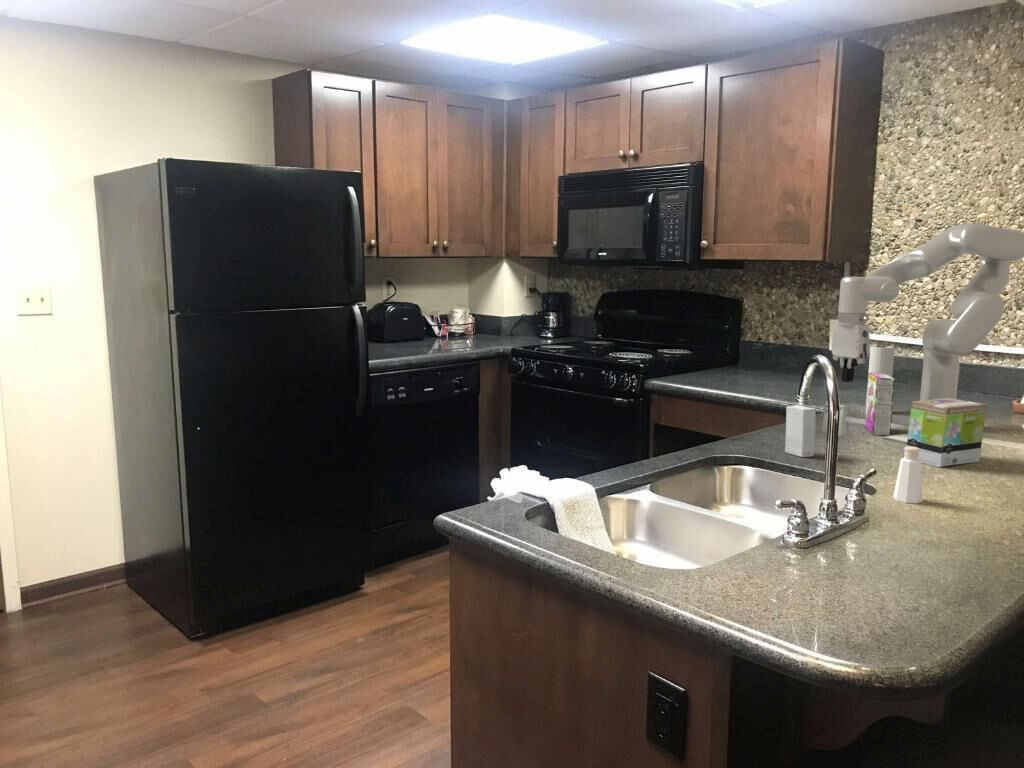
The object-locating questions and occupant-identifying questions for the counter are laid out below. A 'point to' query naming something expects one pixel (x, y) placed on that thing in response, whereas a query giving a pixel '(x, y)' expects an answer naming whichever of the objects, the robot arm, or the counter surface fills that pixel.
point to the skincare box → (800, 430)
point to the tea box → (947, 431)
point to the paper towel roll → (881, 360)
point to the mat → (898, 438)
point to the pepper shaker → (909, 478)
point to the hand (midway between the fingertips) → (847, 381)
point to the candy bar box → (879, 403)
